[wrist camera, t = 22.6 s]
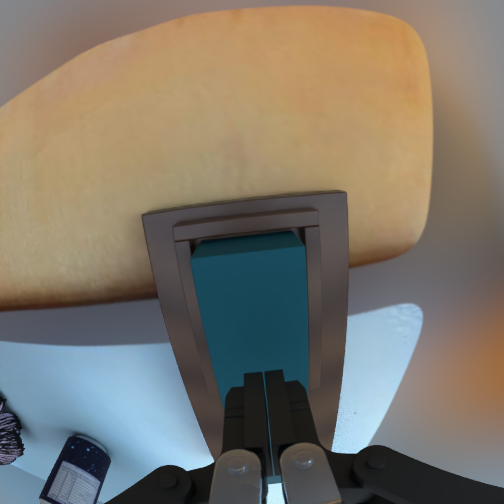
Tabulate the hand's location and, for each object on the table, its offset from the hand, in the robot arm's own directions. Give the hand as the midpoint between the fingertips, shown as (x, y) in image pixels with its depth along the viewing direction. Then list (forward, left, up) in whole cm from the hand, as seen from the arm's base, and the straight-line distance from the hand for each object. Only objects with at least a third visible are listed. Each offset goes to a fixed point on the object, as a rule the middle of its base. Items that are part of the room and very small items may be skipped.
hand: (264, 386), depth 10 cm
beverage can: (+26, -8, -7) cm, 29 cm away
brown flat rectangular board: (+4, +3, -7) cm, 9 cm away
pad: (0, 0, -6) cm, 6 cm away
